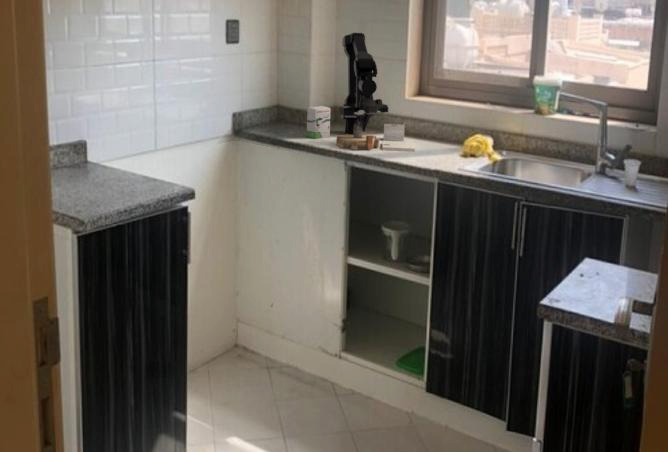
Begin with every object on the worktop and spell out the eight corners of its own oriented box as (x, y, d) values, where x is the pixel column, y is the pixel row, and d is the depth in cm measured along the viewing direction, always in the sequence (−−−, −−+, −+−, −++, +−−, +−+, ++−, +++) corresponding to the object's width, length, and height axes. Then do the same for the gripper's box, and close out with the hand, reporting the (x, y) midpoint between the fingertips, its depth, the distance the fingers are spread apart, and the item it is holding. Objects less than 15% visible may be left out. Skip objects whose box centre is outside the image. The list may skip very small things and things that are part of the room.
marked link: (383, 138, 339) (384, 123, 337) (403, 139, 338) (404, 124, 337) (383, 140, 335) (384, 125, 333) (403, 141, 335) (404, 126, 333)
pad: (382, 143, 328) (382, 141, 327) (413, 145, 327) (413, 142, 327) (382, 149, 317) (382, 146, 317) (414, 151, 317) (414, 148, 316)
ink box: (314, 139, 332) (315, 109, 329) (305, 137, 336) (306, 107, 332) (330, 136, 338) (331, 107, 334) (321, 134, 341) (322, 105, 338)
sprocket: (334, 140, 329) (335, 122, 327) (375, 141, 330) (376, 123, 328) (338, 149, 314) (339, 130, 311) (381, 150, 315) (382, 131, 313)
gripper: (350, 95, 311) (350, 137, 315) (395, 92, 318) (394, 133, 322) (337, 91, 320) (338, 132, 325) (381, 88, 327) (381, 128, 332)
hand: (363, 131), depth 326 cm, fingers closed
